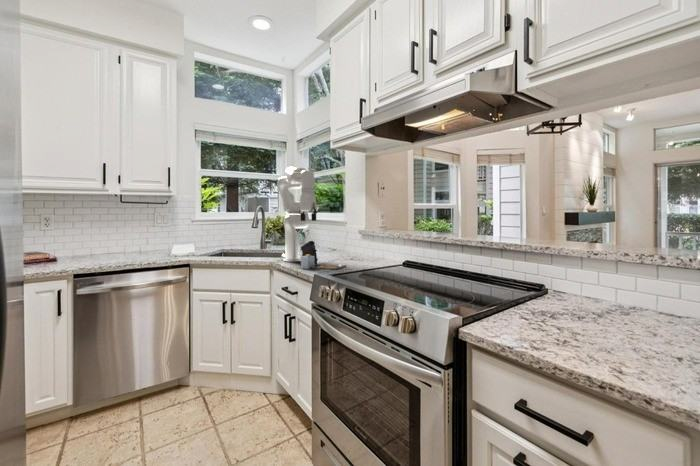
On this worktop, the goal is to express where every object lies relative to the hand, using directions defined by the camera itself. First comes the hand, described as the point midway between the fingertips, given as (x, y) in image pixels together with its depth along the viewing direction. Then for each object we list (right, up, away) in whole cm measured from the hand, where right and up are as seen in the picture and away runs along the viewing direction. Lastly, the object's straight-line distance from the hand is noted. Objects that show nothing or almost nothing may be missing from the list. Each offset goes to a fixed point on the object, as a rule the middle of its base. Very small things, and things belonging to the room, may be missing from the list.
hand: (308, 220), depth 196 cm
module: (-1, -28, +2) cm, 28 cm away
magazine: (-2, -28, +19) cm, 33 cm away
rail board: (+14, -28, +4) cm, 32 cm away
